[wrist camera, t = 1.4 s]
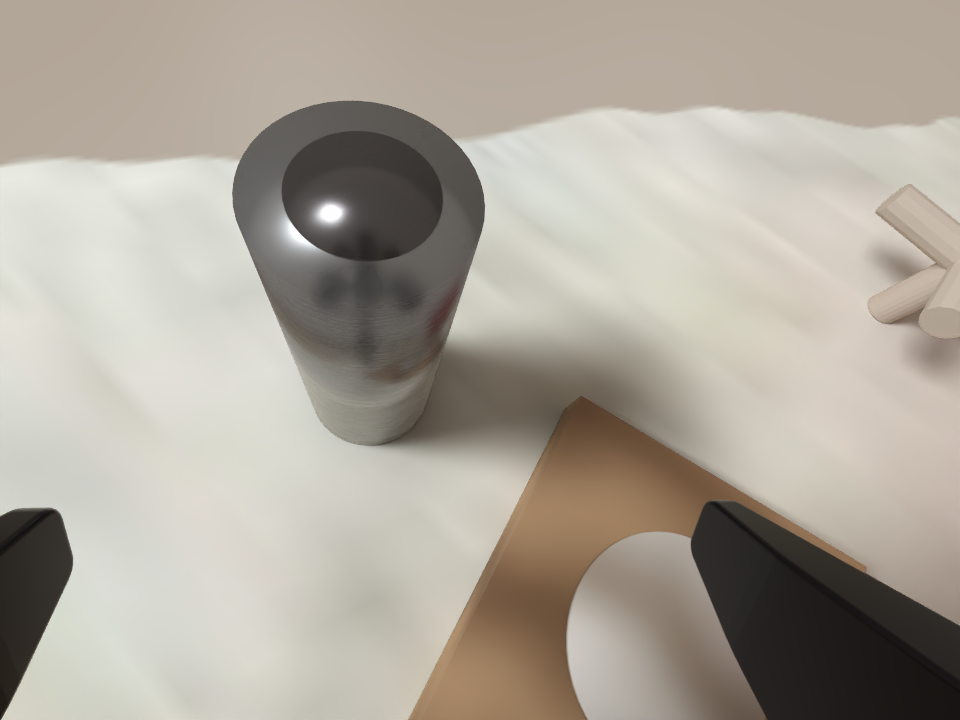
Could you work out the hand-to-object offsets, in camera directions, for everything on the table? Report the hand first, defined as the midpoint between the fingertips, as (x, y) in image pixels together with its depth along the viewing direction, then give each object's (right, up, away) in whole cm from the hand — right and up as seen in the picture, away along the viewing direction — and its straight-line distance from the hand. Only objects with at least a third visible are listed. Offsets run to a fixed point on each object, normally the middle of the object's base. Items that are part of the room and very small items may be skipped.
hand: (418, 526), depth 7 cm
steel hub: (-4, +1, +15) cm, 16 cm away
